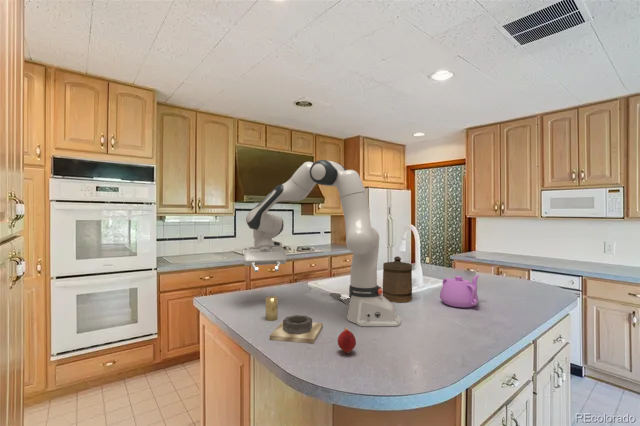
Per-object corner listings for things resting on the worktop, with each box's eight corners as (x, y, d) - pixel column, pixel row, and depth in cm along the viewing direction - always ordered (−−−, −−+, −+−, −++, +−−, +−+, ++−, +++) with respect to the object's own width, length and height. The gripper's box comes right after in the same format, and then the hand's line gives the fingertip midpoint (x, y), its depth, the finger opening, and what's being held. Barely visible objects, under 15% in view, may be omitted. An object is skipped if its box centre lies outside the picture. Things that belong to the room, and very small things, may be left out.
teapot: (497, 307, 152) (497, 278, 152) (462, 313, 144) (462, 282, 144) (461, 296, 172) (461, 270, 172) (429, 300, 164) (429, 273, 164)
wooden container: (415, 297, 170) (415, 255, 170) (407, 304, 157) (407, 259, 157) (388, 293, 177) (388, 254, 177) (378, 300, 165) (378, 257, 165)
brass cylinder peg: (279, 317, 138) (279, 296, 138) (275, 321, 133) (275, 299, 133) (268, 316, 139) (268, 295, 139) (263, 320, 134) (263, 298, 134)
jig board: (322, 327, 126) (322, 314, 126) (313, 343, 111) (313, 329, 111) (283, 324, 130) (283, 311, 130) (269, 339, 114) (269, 325, 114)
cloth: (364, 306, 157) (364, 301, 156) (337, 308, 153) (337, 303, 153) (348, 292, 182) (348, 288, 182) (324, 294, 179) (324, 290, 179)
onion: (354, 348, 106) (354, 324, 106) (357, 356, 101) (357, 331, 101) (336, 349, 106) (336, 325, 106) (338, 357, 100) (338, 331, 100)
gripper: (242, 243, 151) (244, 268, 142) (285, 242, 158) (289, 266, 149) (241, 252, 156) (243, 276, 147) (283, 250, 162) (287, 273, 153)
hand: (266, 271), depth 148 cm, fingers open, 8 cm apart
